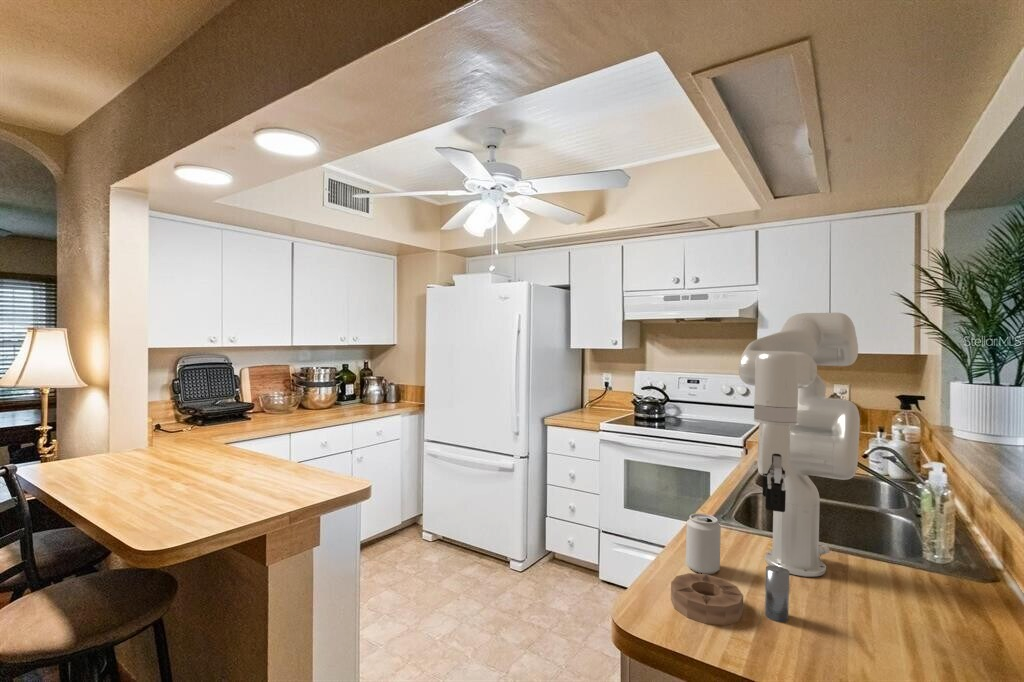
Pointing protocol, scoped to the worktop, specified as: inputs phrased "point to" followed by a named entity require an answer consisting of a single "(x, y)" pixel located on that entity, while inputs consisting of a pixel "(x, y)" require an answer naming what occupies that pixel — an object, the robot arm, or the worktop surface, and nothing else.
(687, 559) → the can
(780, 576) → the peg
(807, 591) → the worktop surface
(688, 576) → the bead
